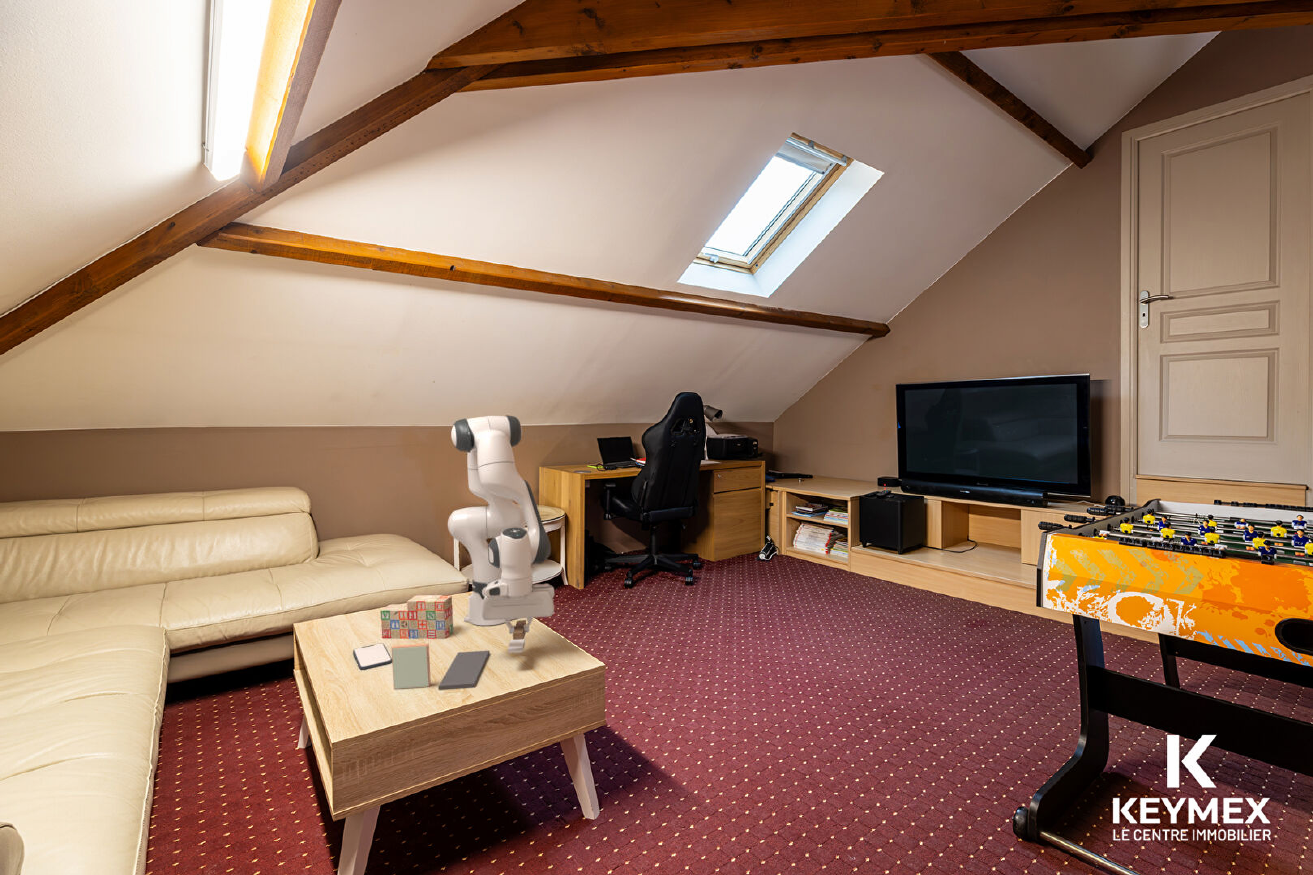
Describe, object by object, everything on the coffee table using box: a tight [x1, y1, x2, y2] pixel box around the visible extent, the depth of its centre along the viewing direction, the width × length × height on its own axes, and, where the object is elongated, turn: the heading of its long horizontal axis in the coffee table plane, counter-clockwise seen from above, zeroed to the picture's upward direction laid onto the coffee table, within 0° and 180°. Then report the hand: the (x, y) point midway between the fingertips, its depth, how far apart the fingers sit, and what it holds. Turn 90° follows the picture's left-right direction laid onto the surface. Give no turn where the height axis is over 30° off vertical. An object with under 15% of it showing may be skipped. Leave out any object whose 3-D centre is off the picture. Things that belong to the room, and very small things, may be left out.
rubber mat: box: [438, 649, 490, 691], centre depth 172 cm, size 22×9×1 cm, turn 5°
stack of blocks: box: [380, 594, 454, 640], centre depth 200 cm, size 21×6×12 cm, turn 84°
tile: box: [391, 643, 432, 690], centre depth 162 cm, size 2×9×11 cm, turn 95°
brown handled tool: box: [507, 619, 527, 654], centre depth 177 cm, size 16×4×3 cm, turn 6°
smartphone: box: [352, 643, 392, 671], centre depth 183 cm, size 9×2×16 cm
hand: (519, 632), depth 179 cm, fingers closed on brown handled tool, 3 cm apart
